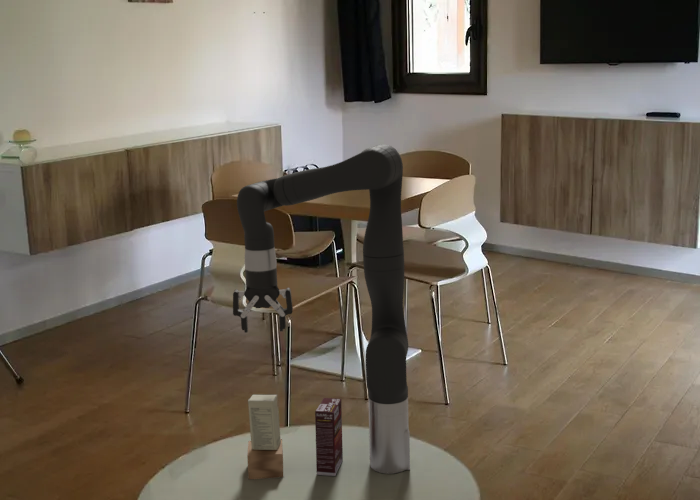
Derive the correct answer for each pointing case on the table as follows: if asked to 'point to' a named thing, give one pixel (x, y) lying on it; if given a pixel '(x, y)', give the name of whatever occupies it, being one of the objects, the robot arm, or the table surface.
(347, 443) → the table surface
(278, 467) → the brown wooden block
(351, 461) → the table surface
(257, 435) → the skincare box
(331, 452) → the supplement box
